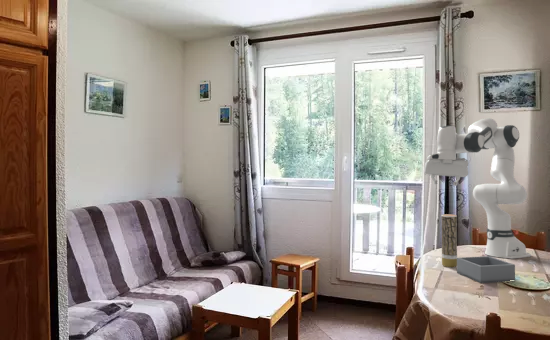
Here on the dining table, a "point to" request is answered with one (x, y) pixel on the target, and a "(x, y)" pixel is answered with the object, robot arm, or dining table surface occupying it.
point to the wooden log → (449, 240)
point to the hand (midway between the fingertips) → (445, 184)
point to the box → (485, 269)
